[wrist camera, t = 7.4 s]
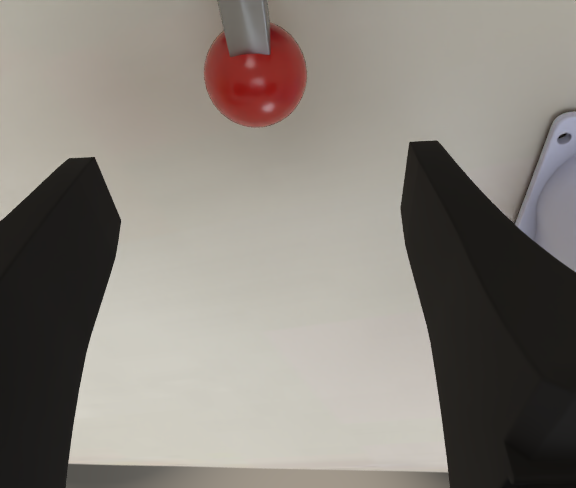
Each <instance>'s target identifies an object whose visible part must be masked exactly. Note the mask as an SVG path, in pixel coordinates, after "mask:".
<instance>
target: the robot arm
mask: <svg viewBox="0 0 576 488" xmlns="http://www.w3.org/2000/svg"><path fill="white" fill-rule="evenodd" d="M565 133H567V134H566V135H565V136H564V137H562V138H559V136H561V135H562V134H565ZM401 216H402V224H403V232H404V239H405V246H406V250H407V254H408V258H409V261H410V265H411V269H412V273H413V276H414V280H415V284H416V288H417V291H418V295H419V299H420V302H421V306H422V310H423V313H424V317H425V321H426V324H427V329H428V333H429V338H430V342H431V348H432V355H433V361H434V368H435V374H436V380H437V387H438V394H439V401H440V408H441V415H442V423H443V431H444V439H445V447H446V455H447V463H448V472H449V481H450V488H576V112H566V113H563V114H561V115H559V116H558V117H557V118H556V119H555V120H554V121H553V123H552V126H551V128H550V131H549V134H548V136H547V139H546V142H545V144H544V147H543V150H542V153H541V155H540V158H539V161H538V163H537V166H536V169H535V171H534V174H533V177H532V180H531V182H530V185H529V188H528V190H527V193H526V196H525V198H524V201H523V204H522V207H521V209H520V212H519V215H518V217H517V220H516V223H515V224H514V223H513V222H512V221H511V220H509V219H508V218H507V217H506V216H505V215H504V214H503V213H502V212H501V211H500V210H499V209H498V208H497V207H496V206H495V205H494V204H493V203H492V202H491V201H490V200H489V199H488V198H487V197H486V195H485V194H484V193H483V192H482V191H481V190H480V189H479V188H478V187H477V186H476V185H475V184H474V183H473V182H472V180H471V179H470V178H469V177H468V176H467V175H466V174H465V172H464V171H463V170H462V169H461V168H460V167H459V165H458V164H457V163H456V162H455V161H454V160H453V158H452V157H451V156H450V155H449V154H448V152H447V151H446V150H445V149H444V148H443V146H442V145H441V144H440V143H439V142H438V141H418V142H409V149H408V157H407V164H406V172H405V179H404V187H403V194H402V201H401ZM120 225H121V219H120V217H119V214H118V212H117V209H116V207H115V205H114V202H113V200H112V197H111V195H110V193H109V190H108V188H107V186H106V183H105V181H104V178H103V176H102V174H101V171H100V169H99V166H98V164H97V162H96V159H95V157H88V158H69V159H68V160H66V161H65V162H64V163H63V164H62V165H61V166H59V167H58V168H57V169H56V170H55V171H54V172H53V173H52V174H51V175H50V176H49V177H48V178H46V179H45V180H44V181H43V182H42V183H41V184H40V185H39V186H38V187H37V188H36V189H35V190H34V191H33V192H32V193H31V194H30V195H29V196H27V197H26V198H25V199H24V200H23V201H22V202H21V203H20V204H19V205H18V206H17V207H16V208H15V209H14V210H12V211H11V212H10V213H9V214H8V215H7V216H6V217H5V218H4V219H3V220H1V221H0V488H65V487H66V478H67V467H68V460H69V453H70V445H71V438H72V430H73V423H74V417H75V411H76V405H77V399H78V393H79V387H80V382H81V377H82V372H83V367H84V362H85V357H86V352H87V348H88V344H89V341H90V337H91V334H92V331H93V327H94V324H95V321H96V318H97V315H98V312H99V309H100V305H101V302H102V299H103V296H104V293H105V290H106V287H107V283H108V280H109V277H110V274H111V270H112V267H113V264H114V260H115V257H116V251H117V245H118V239H119V232H120Z"/></svg>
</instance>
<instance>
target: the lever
mask: <svg viewBox="0 0 576 488" xmlns="http://www.w3.org/2000/svg"><path fill="white" fill-rule="evenodd" d="M217 1H218V6H219V10H220V15H221V19H222V24H223V28H224V31H223V32H221V33H220V34H219V35H218V37H217V38H216V39H215V40H214V42H213V43H212V45H211V47H210V49H209V51H208V53H207V56H206V60H205V66H204V80H205V85H206V89H207V92H208V94H209V97H210V99H211V100H212V102H213V104H214V105H215V107H216V108H217V109H218V110H219V111H220V112H221V113H222V114H223V115H224V116H225V117H226V118H228V119H229V120H231V121H233V122H235V123H237V124H239V125H242V126H246V127H255V128H256V127H267V126H270V125H273V124H276V123H278V122H280V121H282V120H283V119H285V118H286V117H287V116H288V115H290V114H291V113H292V112H293V110H294V109H295V108H296V107H297V105H298V104H299V102H300V100H301V98H302V96H303V94H304V91H305V87H306V80H307V69H306V62H305V59H304V56H303V53H302V51H301V49H300V47H299V45H298V43H297V42H296V41H295V39H294V38H293V37H292V36H291V35H290V34H289V33H288V32H287V31H286V30H284V29H283V28H281V27H280V26H278V25H276V24H274V23H271V22H270V20H269V11H268V3H267V0H217Z"/></svg>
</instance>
